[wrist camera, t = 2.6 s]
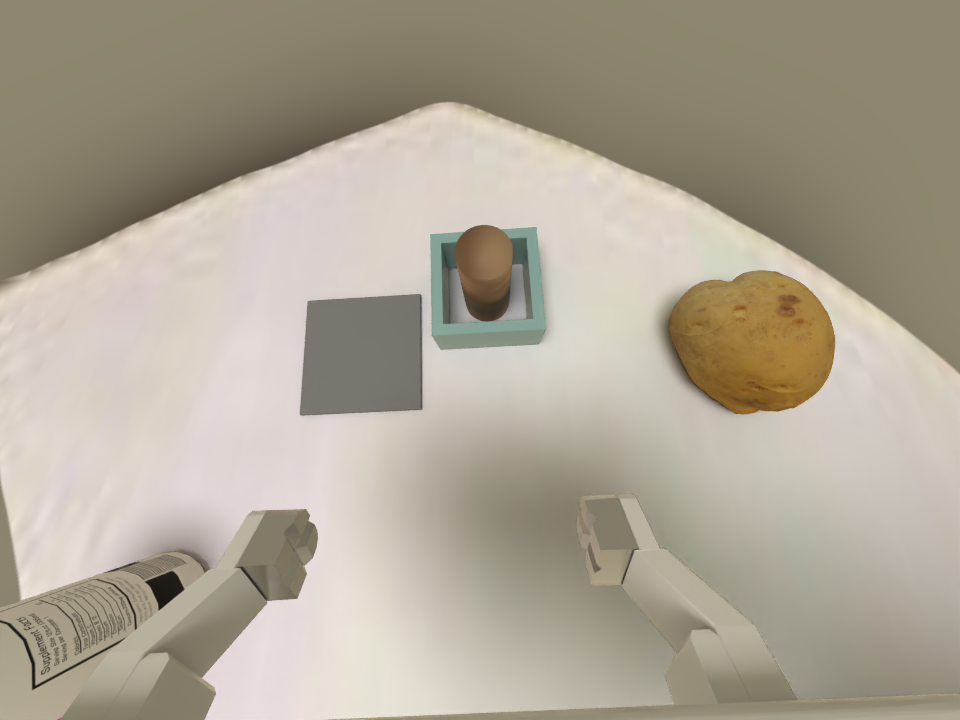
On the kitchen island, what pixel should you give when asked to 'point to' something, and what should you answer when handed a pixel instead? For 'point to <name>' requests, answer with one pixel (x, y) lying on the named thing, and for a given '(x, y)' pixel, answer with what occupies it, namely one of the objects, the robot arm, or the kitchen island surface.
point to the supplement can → (79, 631)
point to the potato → (754, 341)
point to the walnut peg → (485, 270)
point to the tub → (488, 331)
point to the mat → (362, 355)
